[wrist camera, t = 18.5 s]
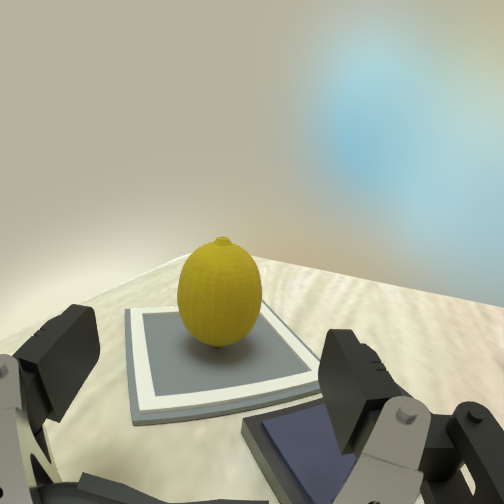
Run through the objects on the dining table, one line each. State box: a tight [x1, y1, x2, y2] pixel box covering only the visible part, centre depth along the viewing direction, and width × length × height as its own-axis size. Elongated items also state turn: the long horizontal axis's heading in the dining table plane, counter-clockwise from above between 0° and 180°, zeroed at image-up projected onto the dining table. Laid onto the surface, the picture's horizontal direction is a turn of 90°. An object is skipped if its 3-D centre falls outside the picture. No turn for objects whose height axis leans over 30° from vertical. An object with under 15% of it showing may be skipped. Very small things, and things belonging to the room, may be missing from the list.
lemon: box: [177, 237, 262, 348], centre depth 20 cm, size 6×6×8 cm
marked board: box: [125, 300, 321, 426], centre depth 21 cm, size 13×13×1 cm
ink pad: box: [241, 384, 433, 504], centre depth 12 cm, size 10×8×2 cm
